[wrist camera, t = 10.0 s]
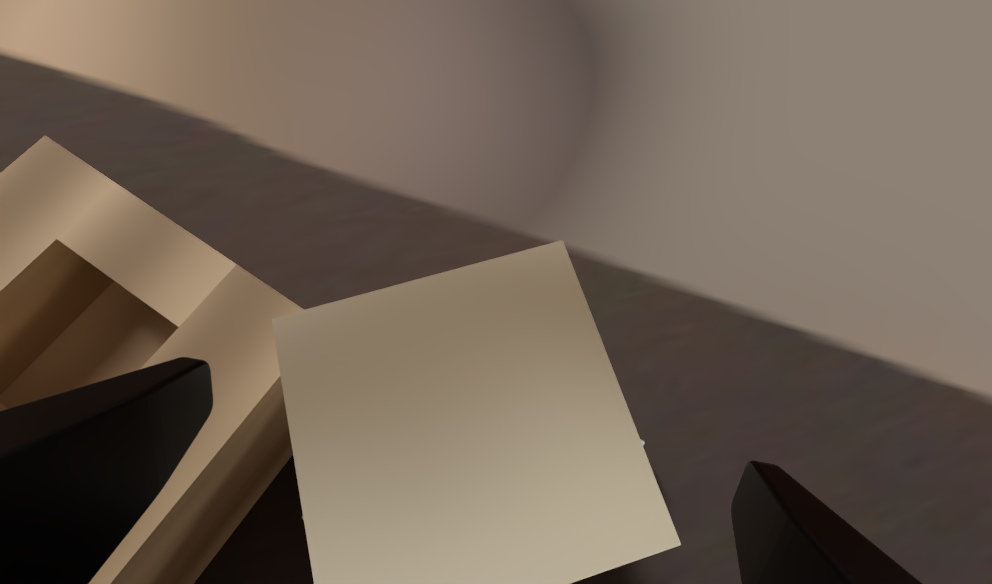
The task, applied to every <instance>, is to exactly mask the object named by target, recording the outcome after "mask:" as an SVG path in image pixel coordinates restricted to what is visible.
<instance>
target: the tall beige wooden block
mask: <svg viewBox="0 0 992 584" xmlns="http://www.w3.org/2000/svg"><path fill="white" fill-rule="evenodd" d="M271 320H272V326H273V332H274V339H275V345H276V351H277V357H278V363H279V370H280V376H281V382H282V388H283V394H284V401H285V407H286V413H287V419H288V426H289V432H290V438H291V444H292V450H293V457H294V463H295V469H296V475H297V481H298V488H299V494H300V500H301V506H302V512H303V519H304V525H305V531H306V537H307V544H308V550H309V556H310V562H311V568H312V575H313V581H314V584H571V583H573V582H576V581H579V580H582V579H585V578H588V577H591V576H594V575H596V574H599V573H602V572H605V571H608V570H611V569H614V568H616V567H619V566H622V565H625V564H628V563H631V562H634V561H637V560H639V559H642V558H645V557H648V556H651V555H654V554H657V553H660V552H662V551H665V550H668V549H671V548H674V547H677V546H680V545H681V543H680V540H679V538H678V535H677V533H676V530H675V528H674V525H673V522H672V520H671V517H670V515H669V512H668V510H667V507H666V504H665V502H664V499H663V497H662V494H661V492H660V489H659V487H658V484H657V481H656V479H655V476H654V474H653V471H652V469H651V466H650V463H649V461H648V458H647V456H646V453H645V451H644V448H643V445H642V443H641V440H640V438H639V435H638V433H637V430H636V427H635V425H634V422H633V420H632V417H631V415H630V412H629V410H628V407H627V404H626V402H625V399H624V397H623V394H622V392H621V389H620V386H619V384H618V381H617V379H616V376H615V374H614V371H613V368H612V366H611V363H610V361H609V358H608V356H607V353H606V350H605V348H604V345H603V343H602V340H601V338H600V335H599V333H598V330H597V327H596V325H595V322H594V320H593V317H592V315H591V312H590V309H589V307H588V304H587V302H586V299H585V297H584V294H583V291H582V289H581V286H580V284H579V281H578V279H577V276H576V274H575V271H574V268H573V266H572V263H571V261H570V258H569V256H568V253H567V250H566V248H565V245H564V243H563V241H562V240H561V241H558V242H554V243H550V244H547V245H543V246H539V247H535V248H532V249H528V250H524V251H521V252H517V253H513V254H510V255H506V256H502V257H498V258H495V259H491V260H487V261H484V262H480V263H476V264H473V265H469V266H465V267H461V268H458V269H454V270H450V271H447V272H443V273H439V274H436V275H432V276H428V277H424V278H421V279H417V280H413V281H410V282H406V283H402V284H399V285H395V286H391V287H387V288H384V289H380V290H376V291H373V292H369V293H365V294H362V295H358V296H354V297H351V298H347V299H343V300H339V301H336V302H332V303H328V304H325V305H321V306H317V307H314V308H310V309H306V310H302V311H299V312H295V313H291V314H288V315H284V316H280V317H277V318H273V319H271Z"/></svg>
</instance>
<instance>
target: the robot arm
mask: <svg viewBox="0 0 992 584" xmlns="http://www.w3.org/2000/svg"><path fill="white" fill-rule="evenodd" d="M212 408H213V390H212V378H211V369H210V366H209V364H208V363H207V362H206V361H205V360H200V359H195V358H189V357H179V358H176V359H173V360H169V361H166V362H163V363H159V364H156V365H153V366H149V367H146V368H143V369H139V370H136V371H132V372H129V373H126V374H122V375H119V376H116V377H112V378H109V379H106V380H102V381H99V382H96V383H92V384H89V385H86V386H82V387H79V388H76V389H72V390H69V391H65V392H62V393H59V394H55V395H52V396H49V397H45V398H42V399H39V400H35V401H32V402H29V403H25V404H22V405H19V406H15V407H12V408H9V409H5V410H2V411H0V584H89V582H90V581H91V580H92V578H93V577H94V576H95V575H96V573H97V572H98V571H99V570H100V568H101V567H102V566H103V565H104V563H105V562H106V561H107V559H108V558H109V557H110V556H111V554H112V553H113V552H114V551H115V549H116V548H117V547H118V546H119V544H120V543H121V542H122V541H123V539H124V538H125V537H126V535H127V534H128V533H129V532H130V530H131V529H132V528H133V527H134V525H135V524H136V523H137V522H138V520H139V519H140V518H141V516H142V515H143V514H144V513H145V511H146V510H147V509H148V508H149V506H150V505H151V504H152V502H153V501H154V500H155V498H156V497H157V496H158V494H159V493H160V492H161V490H162V489H163V487H164V486H165V484H166V483H167V482H168V480H169V479H170V477H171V475H172V474H173V472H174V471H175V469H176V468H177V466H178V464H179V463H180V461H181V460H182V458H183V457H184V455H185V454H186V452H187V450H188V449H189V447H190V446H191V444H192V443H193V441H194V439H195V438H196V436H197V435H198V433H199V432H200V430H201V428H202V427H203V425H204V424H205V422H206V421H207V419H208V418H209V416H210V414H211V411H212ZM731 518H732V524H733V531H734V537H735V543H736V549H737V556H738V562H739V568H740V575H741V581H742V584H922V583H921V582H920V581H918V580H917V579H916V578H915V577H913V576H912V575H911V574H910V573H909V572H907V571H906V570H905V569H904V568H902V567H901V566H900V565H899V564H898V563H896V562H895V561H894V560H893V559H891V558H890V557H889V556H888V555H887V554H885V553H884V552H883V551H882V550H880V549H879V548H878V547H877V546H876V545H874V544H873V543H872V542H871V541H869V540H868V539H867V538H866V537H864V536H863V535H862V534H861V533H860V532H858V531H857V530H856V529H855V528H853V527H852V526H851V525H850V524H849V523H847V522H846V521H845V520H844V519H842V518H841V517H840V516H839V515H838V514H836V513H835V512H834V511H833V510H831V509H830V508H829V507H828V506H827V505H825V504H824V503H823V502H822V501H820V500H819V499H818V498H817V497H816V496H814V495H813V494H812V493H811V492H809V491H808V490H807V489H806V488H804V487H803V486H802V485H801V484H800V483H798V482H797V481H796V480H795V479H793V478H792V477H791V476H790V475H789V474H787V473H786V472H785V471H784V470H782V469H781V468H780V467H779V466H777V465H775V464H770V463H764V462H759V461H750V462H748V463H747V464H746V466H745V468H744V470H743V473H742V475H741V478H740V480H739V483H738V485H737V488H736V490H735V493H734V495H733V498H732V502H731Z"/></svg>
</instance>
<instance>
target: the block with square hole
mask: <svg viewBox="0 0 992 584" xmlns="http://www.w3.org/2000/svg"><path fill="white" fill-rule="evenodd" d="M302 310H304V309H302V308H301V307H299V306H298V305H296V304H295V303H293V302H292V301H290V300H289V299H287V298H286V297H284V296H283V295H281V294H280V293H278V292H277V291H275V290H274V289H272V288H271V287H269V286H268V285H266V284H265V283H263V282H262V281H261V280H259V279H258V278H256V277H255V276H253V275H252V274H250V273H249V272H247V271H246V270H244V269H243V268H241V267H240V266H238V265H237V264H235V263H234V262H232V261H231V260H229V259H228V258H226V257H225V256H223V255H222V254H220V253H219V252H217V251H216V250H214V249H213V248H211V247H210V246H208V245H207V244H206V243H204V242H203V241H201V240H200V239H198V238H197V237H195V236H194V235H192V234H191V233H189V232H188V231H186V230H185V229H183V228H182V227H180V226H179V225H177V224H176V223H174V222H173V221H171V220H170V219H168V218H167V217H165V216H164V215H162V214H161V213H159V212H158V211H156V210H155V209H153V208H152V207H151V206H149V205H148V204H146V203H145V202H143V201H142V200H140V199H139V198H137V197H136V196H134V195H133V194H131V193H130V192H128V191H127V190H125V189H124V188H122V187H121V186H119V185H118V184H116V183H115V182H113V181H112V180H110V179H109V178H107V177H106V176H104V175H103V174H101V173H100V172H99V171H97V170H96V169H94V168H93V167H91V166H90V165H88V164H87V163H85V162H84V161H82V160H81V159H79V158H78V157H76V156H75V155H73V154H72V153H70V152H69V151H67V150H66V149H64V148H63V147H61V146H60V145H58V144H57V143H55V142H54V141H52V140H51V139H49V138H48V137H46V136H44V137H42V138H41V139H40V140H39V141H38V142H37V143H35V144H34V145H33V146H32V147H31V148H29V149H28V150H27V151H26V152H25V153H24V154H22V155H21V156H20V157H19V158H18V159H17V160H15V161H14V162H13V163H12V164H11V165H9V166H8V167H7V168H6V169H5V170H4V171H2V172H1V173H0V411H2V410H5V409H9V408H12V407H15V406H19V405H22V404H25V403H29V402H32V401H35V400H39V399H42V398H45V397H49V396H52V395H55V394H59V393H62V392H65V391H69V390H72V389H76V388H79V387H82V386H86V385H89V384H92V383H96V382H99V381H102V380H106V379H109V378H112V377H116V376H119V375H122V374H126V373H129V372H132V371H136V370H139V369H143V368H146V367H149V366H153V365H156V364H159V363H163V362H166V361H169V360H173V359H176V358H179V357H189V358H195V359H200V360H205V361H206V362H207V363H208V364H209V366H210V369H211V378H212V390H213V408H212V411H211V414H210V416H209V418H208V419H207V421H206V422H205V424H204V425H203V427H202V428H201V430H200V432H199V433H198V435H197V436H196V438H195V439H194V441H193V443H192V444H191V446H190V447H189V449H188V450H187V452H186V454H185V455H184V457H183V458H182V460H181V461H180V463H179V464H178V466H177V468H176V469H175V471H174V472H173V474H172V475H171V477H170V479H169V480H168V482H167V483H166V484H165V486H164V487H163V489H162V490H161V492H160V493H159V494H158V496H157V497H156V498H155V500H154V501H153V502H152V504H151V505H150V506H149V508H148V509H147V510H146V511H145V513H144V514H143V515H142V516H141V518H140V519H139V520H138V522H137V523H136V524H135V525H134V527H133V528H132V529H131V530H130V532H129V533H128V534H127V535H126V537H125V538H124V539H123V541H122V542H121V543H120V544H119V546H118V547H117V548H116V549H115V551H114V552H113V553H112V554H111V556H110V557H109V558H108V559H107V561H106V562H105V563H104V565H103V566H102V567H101V568H100V570H99V571H98V572H97V573H96V575H95V576H94V577H93V578H92V580H91V581H90V582H89V584H194V583H195V582H196V580H197V579H198V578H199V576H200V575H201V574H202V572H203V571H204V570H205V568H206V567H207V566H208V565H209V563H210V562H211V561H212V559H213V558H214V557H215V555H216V554H217V553H218V551H219V550H220V549H221V548H222V546H223V545H224V544H225V542H226V541H227V540H228V538H229V537H230V536H231V534H232V533H233V532H234V531H235V529H236V528H237V527H238V525H239V524H240V523H241V521H242V520H243V519H244V518H245V516H246V515H247V514H248V512H249V511H250V510H251V508H252V507H253V506H254V504H255V503H256V502H257V501H258V499H259V498H260V497H261V495H262V494H263V493H264V491H265V490H266V489H267V487H268V486H269V485H270V484H271V482H272V481H273V480H274V478H275V477H276V476H277V474H278V473H279V472H280V470H281V469H282V468H283V467H284V465H285V464H286V463H287V461H288V460H289V459H290V457H291V456H292V455H293V450H292V444H291V438H290V432H289V426H288V419H287V413H286V407H285V401H284V394H283V388H282V382H281V376H280V370H279V363H278V357H277V351H276V345H275V339H274V332H273V326H272V320H271V319H273V318H277V317H280V316H284V315H288V314H291V313H295V312H299V311H302Z"/></svg>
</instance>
